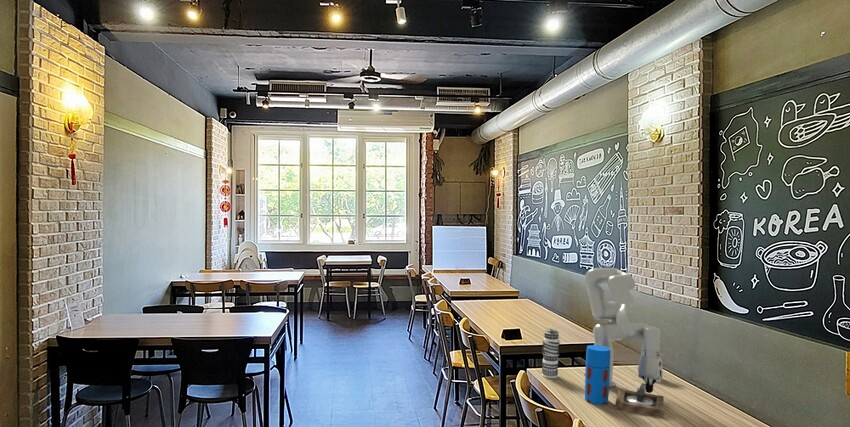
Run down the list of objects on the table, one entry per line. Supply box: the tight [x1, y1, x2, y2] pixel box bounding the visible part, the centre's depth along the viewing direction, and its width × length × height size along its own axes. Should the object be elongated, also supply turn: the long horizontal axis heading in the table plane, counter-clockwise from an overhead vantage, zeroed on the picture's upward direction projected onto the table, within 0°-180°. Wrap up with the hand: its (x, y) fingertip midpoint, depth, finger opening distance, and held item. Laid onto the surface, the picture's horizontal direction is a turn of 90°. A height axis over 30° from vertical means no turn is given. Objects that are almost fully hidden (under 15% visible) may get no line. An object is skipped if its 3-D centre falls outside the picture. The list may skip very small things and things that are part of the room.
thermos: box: [584, 344, 610, 406], centre depth 255 cm, size 11×11×25 cm
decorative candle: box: [541, 328, 561, 379], centre depth 291 cm, size 9×9×25 cm
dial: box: [627, 382, 654, 406], centre depth 252 cm, size 16×12×6 cm
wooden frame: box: [614, 388, 665, 418], centre depth 251 cm, size 20×20×3 cm
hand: (649, 392), depth 254 cm, fingers closed
